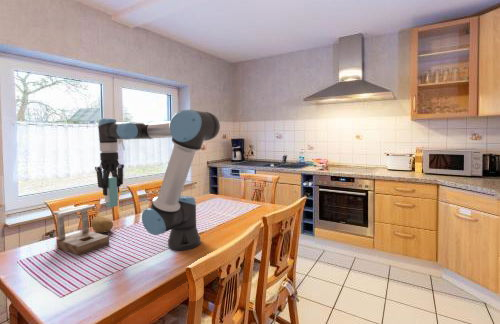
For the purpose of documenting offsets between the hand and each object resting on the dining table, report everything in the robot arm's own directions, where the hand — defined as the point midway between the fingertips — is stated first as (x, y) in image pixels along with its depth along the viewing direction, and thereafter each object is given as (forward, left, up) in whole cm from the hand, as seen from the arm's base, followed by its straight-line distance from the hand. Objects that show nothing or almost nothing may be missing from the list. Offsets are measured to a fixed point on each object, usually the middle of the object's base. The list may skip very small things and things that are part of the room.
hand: (111, 200), depth 131 cm
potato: (+20, -7, -21) cm, 30 cm away
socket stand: (+10, +9, -21) cm, 25 cm away
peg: (0, 0, -3) cm, 3 cm away
